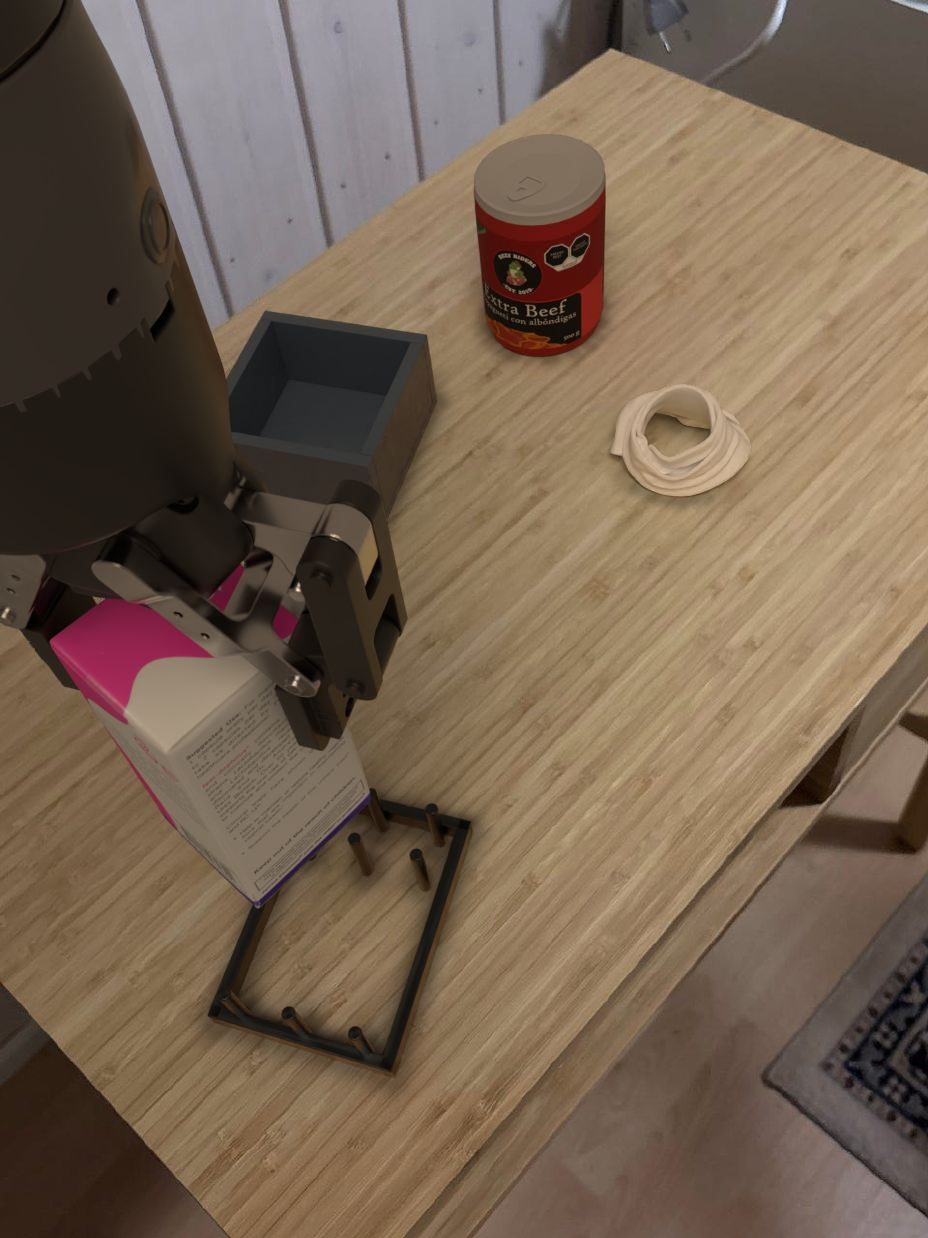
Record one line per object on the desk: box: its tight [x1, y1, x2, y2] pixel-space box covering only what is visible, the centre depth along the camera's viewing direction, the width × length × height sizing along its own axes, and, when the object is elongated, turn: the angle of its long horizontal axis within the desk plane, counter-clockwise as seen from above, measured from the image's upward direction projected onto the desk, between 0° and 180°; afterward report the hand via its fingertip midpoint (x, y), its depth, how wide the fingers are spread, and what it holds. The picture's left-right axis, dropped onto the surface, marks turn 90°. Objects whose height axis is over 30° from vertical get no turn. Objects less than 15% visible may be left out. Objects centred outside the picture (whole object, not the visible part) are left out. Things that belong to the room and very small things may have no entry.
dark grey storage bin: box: [226, 310, 438, 519], centre depth 69 cm, size 11×11×6 cm
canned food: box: [473, 133, 607, 357], centre depth 71 cm, size 8×8×11 cm
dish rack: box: [207, 787, 474, 1079], centre depth 53 cm, size 12×9×4 cm
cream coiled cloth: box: [609, 383, 752, 497], centre depth 67 cm, size 8×7×5 cm
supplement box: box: [50, 563, 371, 908], centre depth 37 cm, size 6×6×12 cm
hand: (207, 693), depth 35 cm, fingers closed on supplement box, 7 cm apart
